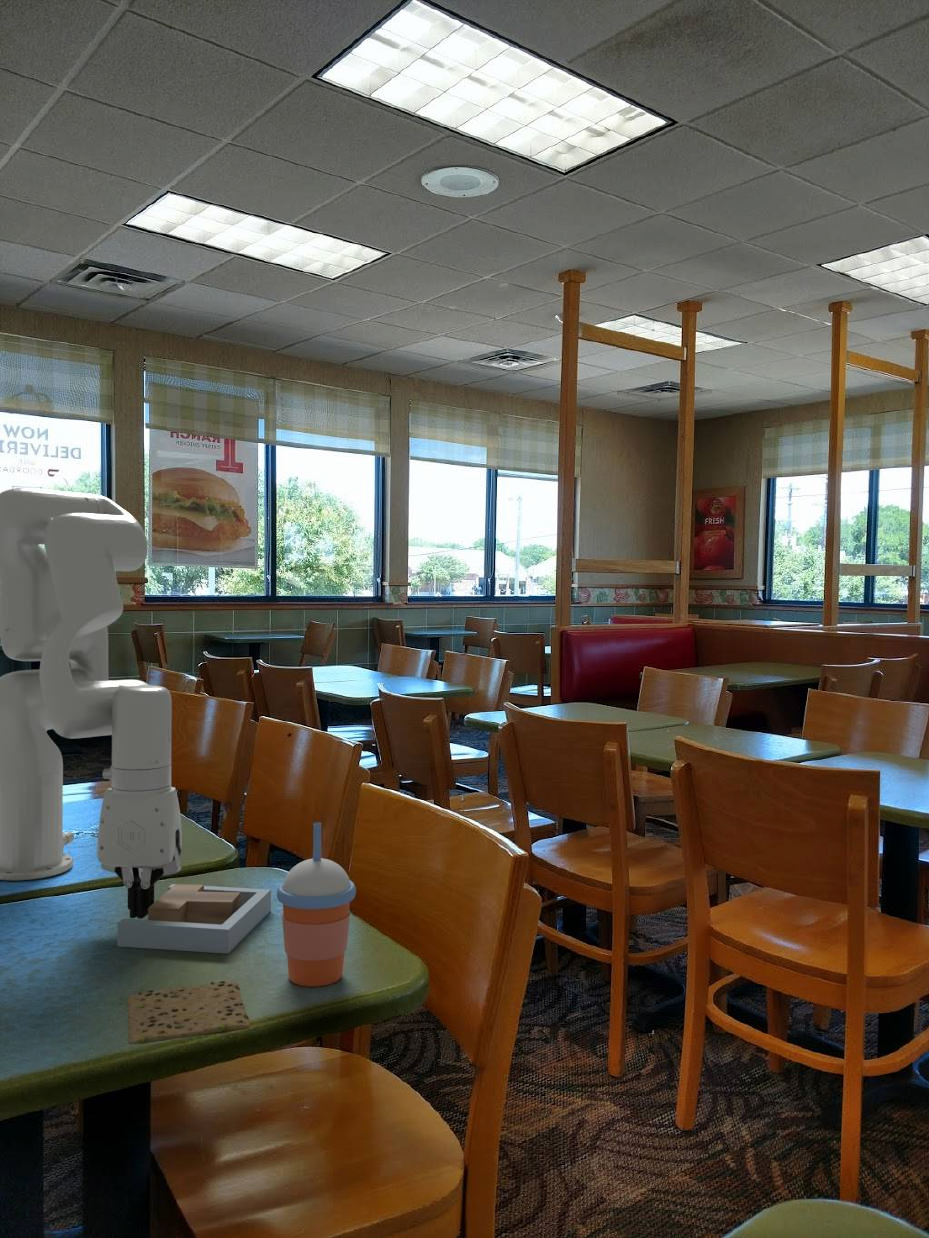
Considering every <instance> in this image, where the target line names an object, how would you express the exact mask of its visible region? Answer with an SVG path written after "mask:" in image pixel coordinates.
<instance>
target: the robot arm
mask: <svg viewBox="0 0 929 1238" xmlns="http://www.w3.org/2000/svg"><path fill="white" fill-rule="evenodd" d="M147 541H148V539H147V537H146V533H145V531H144V528H143V527H142V525H141V524H140V523H139V521H138V519H137V518H135V516H133V514H131V513H130V512H128V511H127V510H126V509H124V508H122V507H121V506H120V505H118V503H116V502H115V501H113V500H112V499H110V498H108V497H106V496H103V495H100V494H95V493H88V492H87V493H86V492H78V491H77V492H76V491H65V490H56V489H48V488H47V489H46V488H34V487H33V488H31V487H30V488H29V487H25V488H24V487H22V488H21V487H19V488H11V489H7V490H4V491H1V492H0V645H1V648H2V651H3V653H4V655H5V656H6V657H7V658H9V659H11V660H15V661H21V662H40V665H39V669H24V670H16V671H11V672H9V673H5V674H3V675H1V676H0V881H16V882H17V881H31V880H38V879H43V878H49V877H50V878H51V877H53V876H56V875H61V874H63V873H65V872H67V871H69V870H70V869H72V867H73V866H74V859H73V857H72V856H71V855H70V854H67V853H64V848H65V846H66V845H69V844H71V843H72V842H73V841H74V840H75V836H74V833H73V832H71V831H65V832H63V831H64V829H63V825H64V824H63V823H64V822H63V820H64V818H63V817H64V813H63V812H64V810H63V808H64V806H63V805H64V804H63V800H64V797H63V793H64V791H63V789H64V787H63V786H64V779H63V778H64V763H63V760H64V759H63V756H62V755H63V754H62V752H61V750H60V748H59V746H57V744H56V743H55V742H54V741H53V739H51V737H50V735H49V734H48V733H47V731H49V730H50V731H51V730H53V731H54V732H55V733H56V734H57V735H58V736H60V737H62V738H66V739H73V740H74V739H83V738H84V739H86V738H93V737H102V736H103V737H105V736H111V765H110V767H109V768H104V769H103V770H102V778H103V779H105V780H106V779H108V780H109V781H110V786H111V787H109V788H107V789H105V790H104V794H103V798H102V803H101V808H100V814H99V823H98V832H97V846H96V847H97V849H96V851H97V852H96V853H97V860H98V862H100V863H101V865H100V867H101V869H102V870H104V871H106V872H110V873H112V874H113V873H115V874H116V875H117V876H118V878H120V879H121V881H122V883H123V886H124V887H125V888H126V889H127V909H128V910H129V919H136V918H137V919H138V920H143V919H144V918H145V917H146V916H148V908H149V907H150V906H151V905H152V904H153V903H155V884H156V883H157V882H158V881H159V880H160V879H161V878H162V877H163V876H170V875H174V874H177V873H178V872H180V871H181V870H182V864H181V860H180V858H181V856H182V850H183V848H182V847H183V833H182V829H183V828H182V819H181V810H180V804H179V798H178V794H177V790H176V787H175V786H174V787H173V786H172V718H173V717H172V714H173V713H172V704H173V703H172V702H173V701H172V693H171V692H170V690H169V689H168V688H167V687H164V686H160V685H153V684H149V683H147V682H145V681H143V680H140V679H114V680H109V636H108V635H109V633H108V626H110V625H111V624H113V623H114V622H116V621H117V620H118V619H119V618H120V617H121V616H122V614H123V612H124V603H123V599H122V596H121V592H120V587H119V583H118V579H117V575H116V572H135V571H136V570H139V569H141V568H142V566H143V565H144V563H145V561H146V559H147V556H148V542H147ZM41 545H44V547H45V550H44V549H43V547H42V546H41ZM141 869H142V871H141Z"/></svg>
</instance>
